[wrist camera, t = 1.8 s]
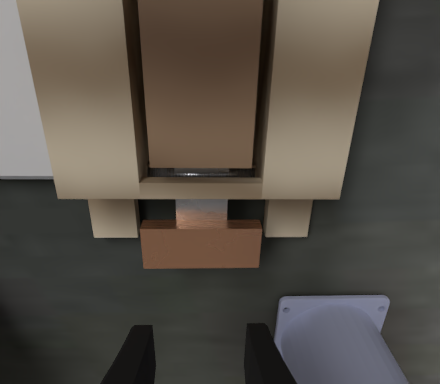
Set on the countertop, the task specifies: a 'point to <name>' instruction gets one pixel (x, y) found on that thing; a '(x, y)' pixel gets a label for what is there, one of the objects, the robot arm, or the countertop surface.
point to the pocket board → (136, 112)
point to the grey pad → (19, 105)
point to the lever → (201, 230)
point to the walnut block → (200, 81)
